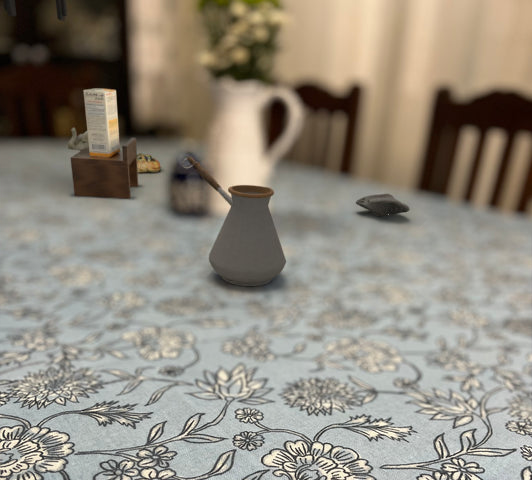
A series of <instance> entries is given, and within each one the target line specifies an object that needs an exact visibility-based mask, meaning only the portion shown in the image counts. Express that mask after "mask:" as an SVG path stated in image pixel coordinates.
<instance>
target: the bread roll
mask: <svg viewBox="0 0 532 480" xmlns="http://www.w3.org/2000/svg"><path fill="white" fill-rule="evenodd" d="M137 168H138V173H146V172H151V173H158V172H159V171H160V170H161V169H162V166H161V163H160V162H159V161H158V160H157V158H154V157H153V155H151V154H150V153H149V154H144V153H142V152H140V153H137Z"/></svg>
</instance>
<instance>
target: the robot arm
mask: <svg viewBox="0 0 532 480" xmlns="http://www.w3.org/2000/svg"><path fill="white" fill-rule="evenodd" d="M3 6H4V10H5V11H6V12H7V15H8V16H10V17H16V16H17V9H16V0H3ZM55 7H56V16H57V18H56V19H57V20H59V21H62V22H65V21H66V17H67V16H68V9H67V0H55Z"/></svg>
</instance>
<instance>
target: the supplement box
mask: <svg viewBox="0 0 532 480" xmlns="http://www.w3.org/2000/svg"><path fill="white" fill-rule="evenodd" d="M82 91H83V99H84V111H85V120H86V121H85V122H86V129H87V130H86V131H87V132H88V143H89V152H90V156H97V157H111V156H113V155H115V154H117V153H118V152H120V150H121V147H120V132H119V131H120V130H119V117H118V101H117V90H116V89H111V88H100V87H99V88H98V87H97V88H88V89H83V90H82Z"/></svg>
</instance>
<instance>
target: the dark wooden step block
mask: <svg viewBox="0 0 532 480" xmlns="http://www.w3.org/2000/svg"><path fill="white" fill-rule="evenodd" d="M137 148H138V147H137V138H136V137H130V139H128V140H127V141H126V142H125V143H124V144H122V145H121V149H120V152H118V153H117V154H115V155H113V156H111V157H97V156H90V152H89V148H85V149H83V150H82V151H80V150H79V151H78V152H77V153H75V154H73V155H72V156H71V157H70V167H71V176H72V184H73V186H72V187H73V194H74V197H90V198H109V199H110V198H111V199H128V200H130V199H131V198H132V197H131V196H132V195H131V187H135V188H137V187H139V172H138V168H137V155H138V151H137V150H138V149H137Z"/></svg>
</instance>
